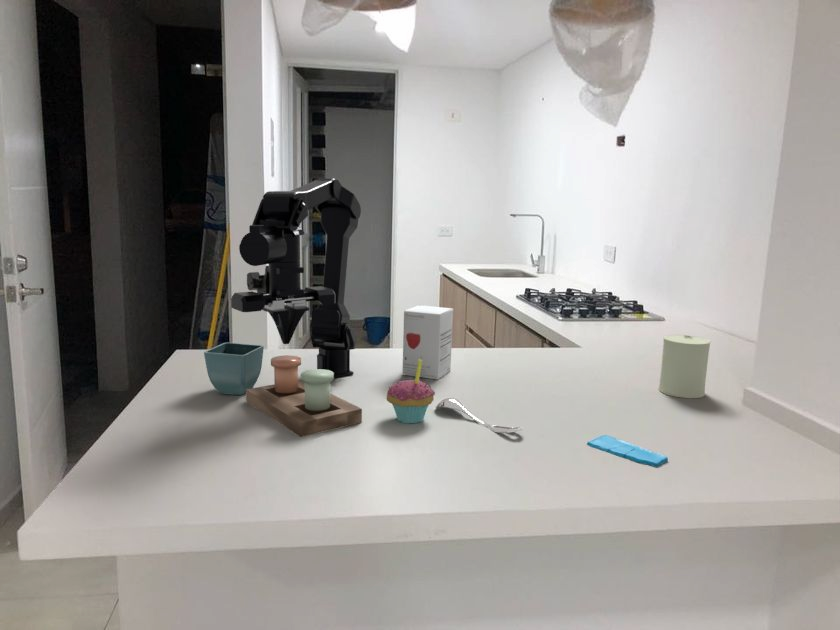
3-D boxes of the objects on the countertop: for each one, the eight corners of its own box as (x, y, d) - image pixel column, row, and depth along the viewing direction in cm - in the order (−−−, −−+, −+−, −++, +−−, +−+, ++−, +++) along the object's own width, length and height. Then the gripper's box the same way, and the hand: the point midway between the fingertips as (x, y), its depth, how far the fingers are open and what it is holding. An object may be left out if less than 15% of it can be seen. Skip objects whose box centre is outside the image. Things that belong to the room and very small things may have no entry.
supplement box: (400, 375, 138) (402, 310, 135) (416, 366, 146) (417, 304, 144) (438, 380, 135) (440, 313, 132) (451, 370, 143) (454, 307, 140)
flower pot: (245, 399, 119) (244, 355, 117) (204, 396, 120) (202, 351, 119) (265, 387, 127) (264, 345, 125) (226, 383, 129) (225, 342, 127)
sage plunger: (323, 399, 111) (323, 367, 110) (339, 407, 107) (339, 374, 106) (295, 405, 108) (295, 372, 107) (311, 413, 104) (310, 379, 103)
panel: (302, 391, 125) (302, 379, 124) (361, 422, 108) (361, 408, 107) (246, 401, 117) (245, 389, 117) (300, 437, 100) (300, 422, 100)
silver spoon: (530, 414, 103) (513, 420, 100) (530, 434, 104) (513, 441, 101) (447, 393, 118) (429, 397, 115) (447, 410, 119) (430, 416, 115)
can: (704, 389, 133) (710, 335, 131) (704, 401, 125) (711, 343, 123) (659, 383, 137) (664, 330, 135) (656, 394, 128) (662, 338, 126)
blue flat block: (648, 467, 91) (671, 454, 94) (583, 441, 100) (606, 430, 104) (648, 477, 91) (670, 463, 95) (584, 450, 101) (606, 439, 104)
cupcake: (439, 414, 113) (441, 351, 111) (424, 430, 105) (426, 362, 103) (396, 408, 115) (397, 347, 113) (378, 423, 108) (379, 357, 105)
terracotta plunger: (292, 383, 121) (292, 354, 120) (306, 390, 116) (306, 360, 115) (266, 388, 117) (265, 358, 116) (279, 395, 113) (278, 364, 112)
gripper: (308, 255, 124) (309, 330, 127) (218, 259, 113) (221, 341, 116) (337, 260, 116) (337, 340, 119) (242, 265, 104) (245, 353, 107)
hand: (285, 343), depth 115 cm, fingers closed
